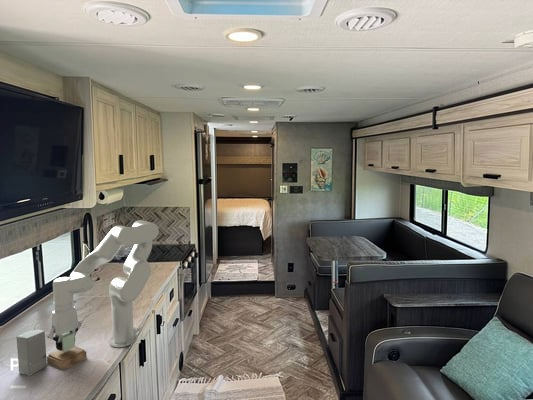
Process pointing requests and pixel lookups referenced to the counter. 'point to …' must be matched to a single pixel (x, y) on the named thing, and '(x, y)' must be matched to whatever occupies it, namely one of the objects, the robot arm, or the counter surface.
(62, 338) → the sage block
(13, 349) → the counter surface
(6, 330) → the counter surface
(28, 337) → the skincare box
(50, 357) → the walnut pedestal
